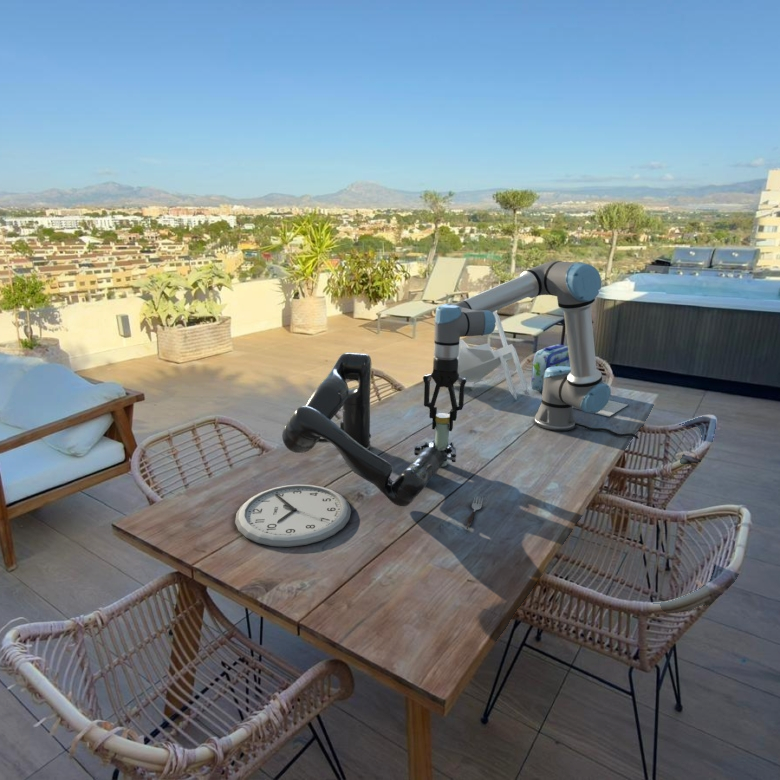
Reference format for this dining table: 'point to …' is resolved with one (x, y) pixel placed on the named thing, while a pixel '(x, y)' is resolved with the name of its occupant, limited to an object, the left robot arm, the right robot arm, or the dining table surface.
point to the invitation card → (611, 408)
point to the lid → (442, 418)
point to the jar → (442, 437)
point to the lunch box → (548, 363)
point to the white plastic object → (489, 361)
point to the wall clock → (293, 515)
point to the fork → (475, 507)
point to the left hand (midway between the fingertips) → (444, 443)
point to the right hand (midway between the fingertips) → (442, 428)
